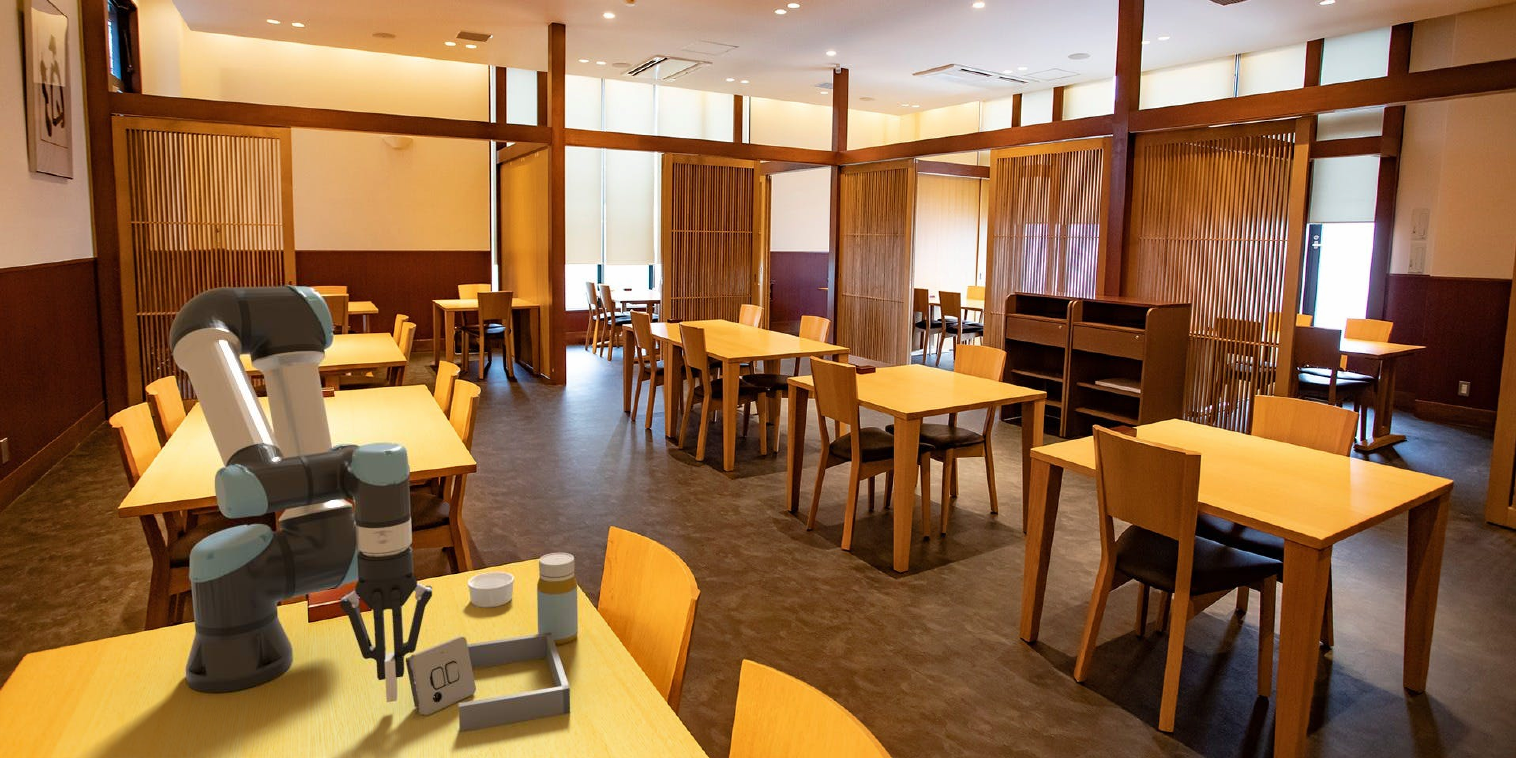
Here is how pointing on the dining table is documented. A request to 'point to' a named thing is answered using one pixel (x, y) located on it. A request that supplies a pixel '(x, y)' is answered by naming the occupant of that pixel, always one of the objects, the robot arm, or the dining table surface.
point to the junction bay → (520, 703)
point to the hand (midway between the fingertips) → (392, 696)
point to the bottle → (557, 597)
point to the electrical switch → (441, 675)
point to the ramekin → (491, 589)
